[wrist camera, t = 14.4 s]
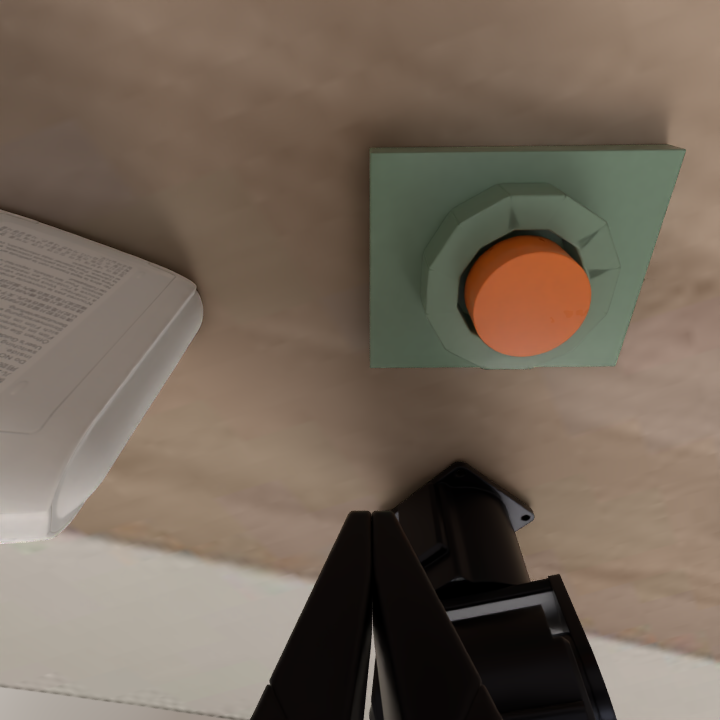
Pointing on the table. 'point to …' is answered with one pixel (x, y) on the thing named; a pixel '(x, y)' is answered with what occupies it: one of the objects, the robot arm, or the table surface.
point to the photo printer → (76, 365)
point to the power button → (526, 296)
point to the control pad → (502, 221)
